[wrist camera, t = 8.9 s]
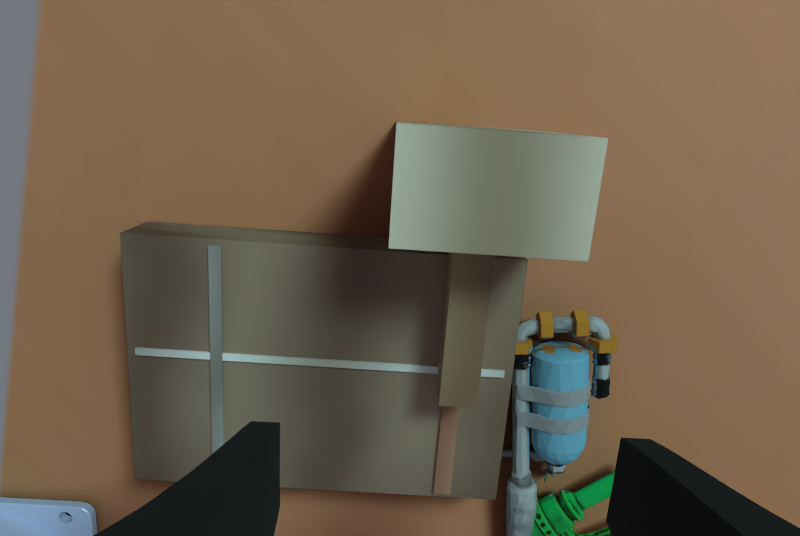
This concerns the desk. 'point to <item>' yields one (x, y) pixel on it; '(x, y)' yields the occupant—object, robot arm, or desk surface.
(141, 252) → the brown flat block
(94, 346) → the desk surface
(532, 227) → the joiner mallet
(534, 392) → the flamethrower
